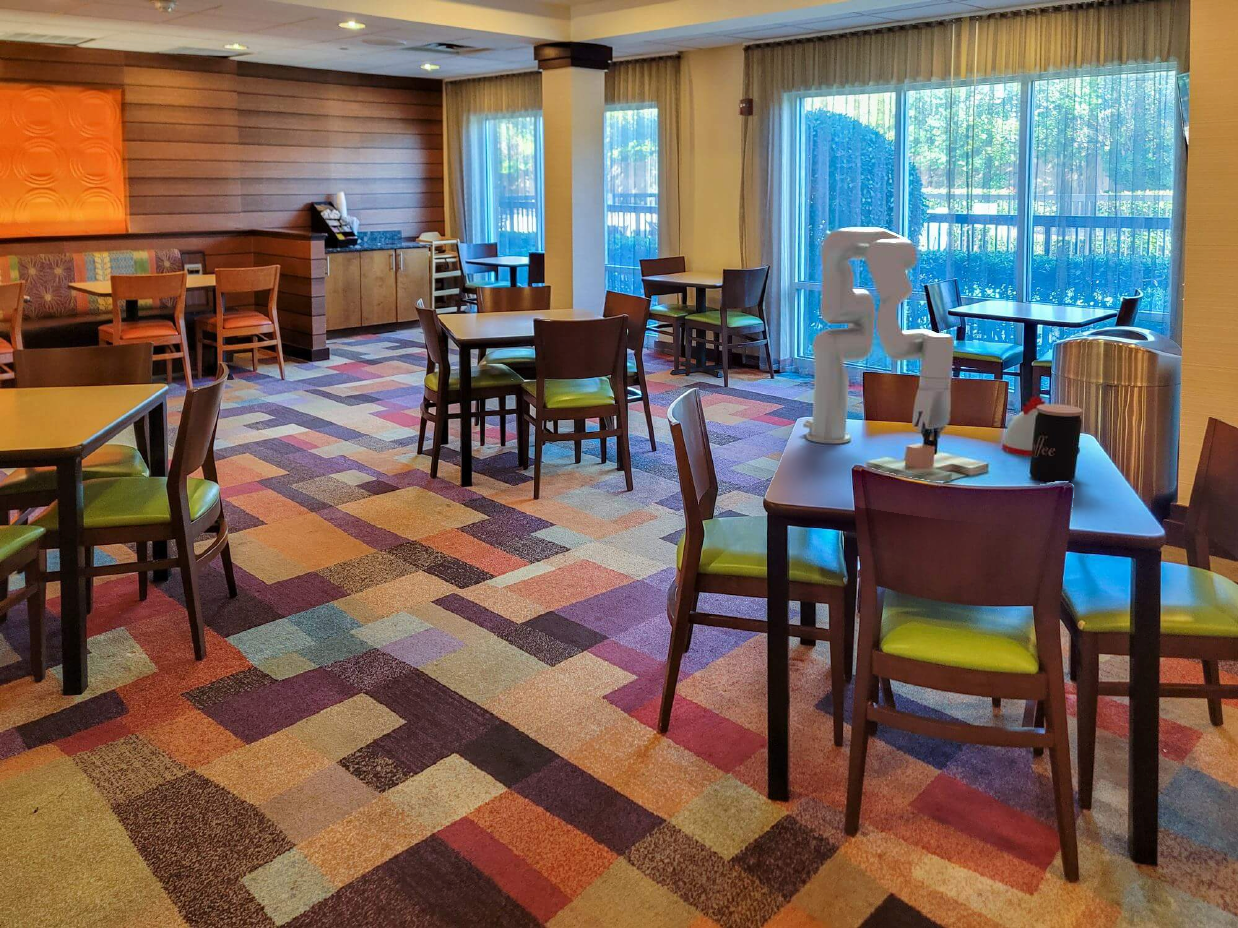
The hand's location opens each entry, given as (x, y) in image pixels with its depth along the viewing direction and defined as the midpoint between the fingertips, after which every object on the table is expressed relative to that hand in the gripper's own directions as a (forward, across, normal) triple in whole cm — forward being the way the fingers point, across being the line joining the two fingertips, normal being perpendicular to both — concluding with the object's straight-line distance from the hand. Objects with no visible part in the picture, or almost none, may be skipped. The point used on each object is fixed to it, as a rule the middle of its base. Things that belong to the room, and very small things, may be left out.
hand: (929, 453), depth 269 cm
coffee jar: (+5, -18, +24) cm, 30 cm away
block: (+2, +4, 0) cm, 5 cm away
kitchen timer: (+5, -41, +4) cm, 41 cm away
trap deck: (+4, 0, 0) cm, 4 cm away
